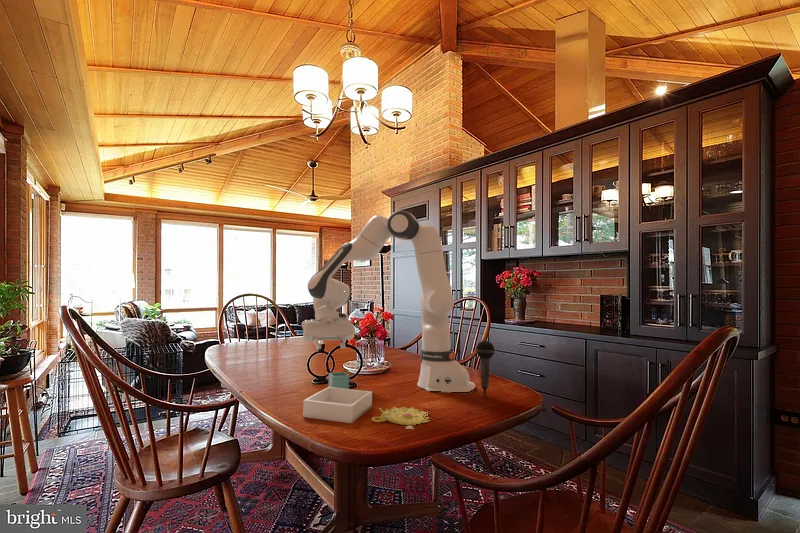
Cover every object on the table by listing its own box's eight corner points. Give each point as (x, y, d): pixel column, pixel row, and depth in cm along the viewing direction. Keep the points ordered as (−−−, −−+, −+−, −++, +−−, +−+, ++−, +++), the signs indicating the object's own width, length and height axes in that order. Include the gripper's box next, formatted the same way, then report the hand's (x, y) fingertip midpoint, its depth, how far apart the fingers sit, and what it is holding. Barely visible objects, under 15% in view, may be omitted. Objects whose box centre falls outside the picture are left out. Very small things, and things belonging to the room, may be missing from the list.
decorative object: (448, 418, 119) (388, 426, 109) (447, 427, 119) (387, 435, 109) (412, 399, 137) (357, 404, 127) (411, 406, 137) (357, 412, 127)
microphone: (494, 400, 142) (495, 342, 143) (475, 398, 143) (475, 341, 144) (494, 394, 149) (494, 339, 149) (475, 393, 150) (475, 339, 151)
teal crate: (344, 392, 149) (344, 371, 149) (348, 396, 143) (349, 375, 143) (328, 393, 147) (328, 372, 147) (332, 398, 141) (332, 376, 141)
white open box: (371, 406, 132) (372, 391, 133) (351, 423, 117) (352, 406, 117) (327, 401, 137) (328, 386, 137) (303, 416, 122) (303, 400, 122)
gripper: (301, 315, 160) (305, 344, 151) (352, 314, 168) (358, 341, 159) (299, 325, 164) (303, 353, 155) (348, 324, 172) (354, 351, 163)
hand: (331, 347), depth 157 cm, fingers open, 8 cm apart
